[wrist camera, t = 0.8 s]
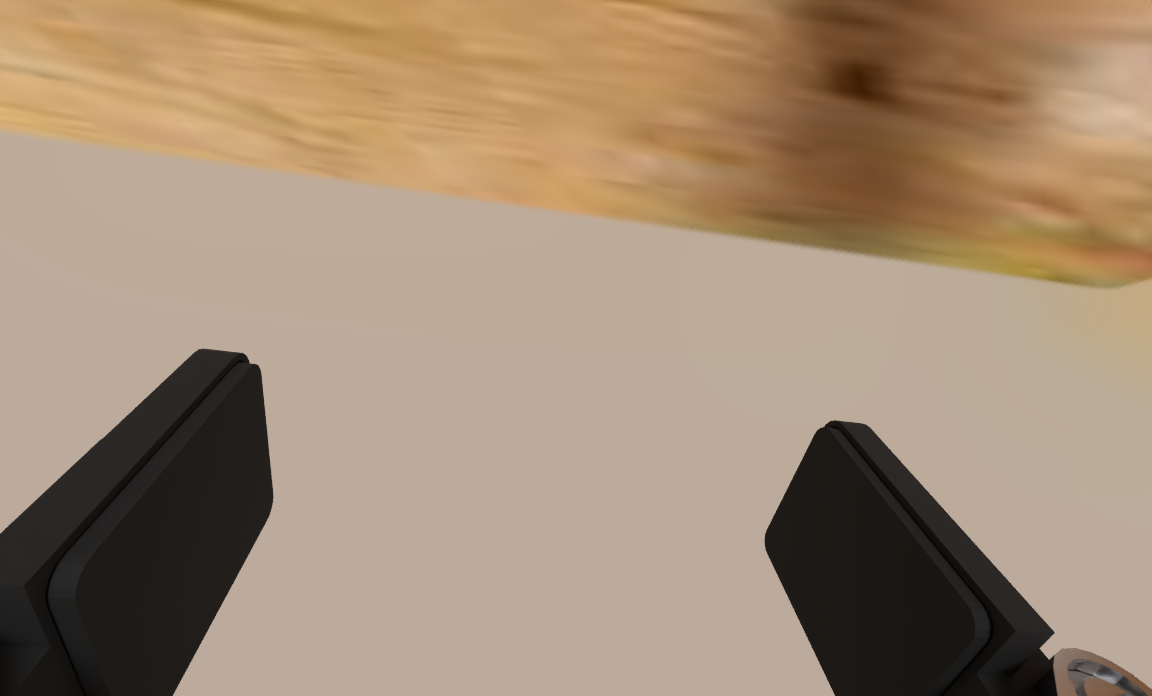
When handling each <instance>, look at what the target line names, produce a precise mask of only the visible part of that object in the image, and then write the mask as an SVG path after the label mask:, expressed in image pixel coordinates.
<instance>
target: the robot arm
mask: <svg viewBox="0 0 1152 696" xmlns="http://www.w3.org/2000/svg"><path fill="white" fill-rule="evenodd" d="M263 397H264V396H263V386H262V376H261V370H260V368H259V366H258V365H256V364H249V360H248V358H247V356H246V355H245V354H243V353H237V352H228V351H219V350H211V349H199V350H198V351H196V352H195V353H194V354H192V355H191V356H190V357H189V358H188V359H187V360H186V361H185V362H184V363H183V364H182V365H181V366H180V367H178V368H177V369H176V370H175V371H174V372H173V373H172V374H171V375H170V376H169V377H168V378H167V379H166V380H165V381H164V382H163V383H161V384H160V386H158V387H157V388H156V389H155V390H154V391H153V392H152V393H151V394H150V395H149V396H148V397H147V398H146V399H144V400H143V401H142V402H141V403H140V404H139V405H138V406H137V407H136V408H135V409H134V410H133V411H132V412H131V413H130V414H129V415H127V416H126V417H125V418H124V419H123V420H122V421H121V422H120V423H119V424H118V425H117V426H116V427H115V428H114V429H112V431H111V432H109V433H108V434H107V435H106V436H105V437H104V438H103V439H101V440H100V441H99V442H98V443H97V444H95V445H94V446H93V447H92V448H91V449H90V450H89V451H88V452H87V453H86V454H85V455H84V456H83V457H82V458H81V459H80V460H78V462H76V463H75V464H74V465H73V466H72V467H71V468H70V469H69V470H68V471H67V472H66V473H65V474H63V475H62V476H61V477H60V478H59V479H58V480H57V481H56V482H55V483H54V484H53V485H52V486H51V487H50V488H49V489H48V490H46V491H45V492H44V493H43V494H42V495H41V496H40V497H39V498H38V499H37V500H36V501H35V502H34V503H33V504H31V506H30V507H28V508H27V509H26V510H25V511H24V512H23V513H22V514H21V515H20V516H19V517H18V518H17V519H15V520H14V521H13V522H12V523H11V524H10V525H9V526H8V527H7V528H6V529H5V530H4V531H3V532H2V533H1V534H0V696H173V694H174V692H175V690H176V688H177V687H178V684H179V683H180V681H181V679H182V677H183V675H184V674H185V672H186V670H187V668H188V666H189V664H190V662H191V661H192V659H193V657H194V655H195V653H196V651H197V649H198V648H199V646H200V644H201V642H202V640H203V638H204V636H205V635H206V633H207V631H208V629H209V627H210V625H211V623H212V621H213V620H214V618H215V616H216V614H217V612H218V610H219V608H220V607H221V605H222V603H223V601H224V599H225V597H226V596H227V594H228V592H229V590H230V588H231V586H232V584H233V583H234V581H235V579H236V577H237V575H238V573H239V571H240V569H241V568H242V566H243V564H244V562H245V560H246V558H247V557H248V554H249V553H250V551H251V549H252V547H253V545H254V543H255V542H256V540H257V538H258V536H259V534H260V532H261V530H262V529H263V527H264V525H265V523H266V521H267V519H268V517H269V515H270V512H271V508H272V503H273V487H272V478H271V467H270V457H269V447H268V436H267V426H266V416H265V406H264V398H263ZM765 548H766V551H767V554H768V556H769V558H770V560H771V562H772V564H773V566H774V569H775V571H776V573H777V575H778V577H779V579H780V581H781V583H782V585H783V587H784V590H785V592H786V594H787V596H788V598H789V600H790V602H791V604H792V606H793V608H794V610H795V613H796V615H797V617H798V619H799V621H800V623H801V625H802V627H803V629H804V631H805V633H806V636H807V637H808V640H809V642H810V644H811V646H812V648H813V650H814V652H815V654H816V657H817V658H818V661H819V663H820V665H821V667H822V669H823V671H824V673H825V675H826V677H827V680H828V682H829V684H830V686H831V688H832V690H833V692H834V694H835V696H1152V689H1151V688H1149V687H1148V686H1147V685H1145V684H1144V683H1143V682H1142V681H1140V680H1139V679H1138V678H1136V677H1135V676H1134V675H1133V674H1131V673H1129V672H1128V671H1126V670H1125V669H1123V668H1121V667H1120V666H1118V665H1116V664H1115V663H1113V662H1112V661H1109V660H1107V659H1105V658H1103V657H1101V656H1098V655H1096V654H1094V653H1092V652H1088V651H1084V650H1080V649H1076V648H1068V649H1061V650H1060V651H1059V652H1057V653H1056V654H1055V655H1054V656H1053V657H1052V658H1051V659H1050V660H1049V659H1048V658H1047V657H1046V656H1045V655H1044V653H1043V652H1042V651H1041V650H1040V649H1039V648H1040V647H1041V646H1042V645H1043V644H1044V643H1045V642H1046V641H1047V640H1048V639H1049V638H1050V637H1051V636H1052V635H1053V634H1054V631H1053V630H1052V629H1051V628H1050V627H1049V626H1048V625H1047V623H1046V622H1045V621H1044V620H1043V619H1042V618H1041V617H1040V616H1039V615H1038V613H1037V612H1036V611H1035V610H1034V609H1033V608H1032V607H1031V606H1030V605H1029V604H1028V602H1027V601H1026V600H1025V599H1024V598H1023V597H1022V596H1021V595H1020V593H1018V591H1017V590H1016V589H1015V588H1014V587H1013V586H1012V585H1011V583H1010V582H1009V581H1008V580H1007V579H1006V578H1005V577H1004V576H1003V575H1002V574H1001V572H1000V571H998V569H997V568H996V567H995V566H994V565H993V564H992V562H991V561H990V560H989V559H988V558H987V557H986V556H985V555H984V554H983V552H982V551H981V550H980V549H979V548H978V547H977V546H976V545H975V544H974V543H973V541H971V539H970V538H969V537H968V536H967V535H966V534H965V532H964V531H963V530H962V529H961V528H960V527H959V526H958V525H957V524H956V522H955V521H954V520H953V519H952V518H951V517H950V516H949V515H948V514H947V512H946V511H945V510H944V509H943V508H942V507H941V506H940V505H939V504H938V503H937V501H936V500H935V499H934V498H933V497H932V496H931V495H930V494H929V492H928V491H927V490H926V489H925V488H924V487H923V486H922V485H921V484H920V483H919V481H918V480H917V479H916V478H915V477H914V476H913V475H912V474H911V473H910V472H909V470H908V469H907V468H906V467H905V466H904V465H903V464H902V463H901V461H900V460H899V459H898V458H897V457H896V456H895V455H894V454H893V453H892V452H891V450H890V449H889V448H888V447H887V446H886V445H885V444H884V443H883V442H882V440H881V439H880V438H879V437H878V436H877V435H876V434H875V433H874V431H872V429H871V428H870V427H868V426H867V425H865V424H861V423H853V422H844V421H835V420H834V421H830V422H829V423H827V424H826V425H825V427H823V428H820V429H819V430H817V432H816V433H815V435H814V437H813V439H812V441H811V443H810V445H809V447H808V449H807V451H806V453H805V455H804V457H803V459H802V461H801V463H800V465H799V467H798V469H797V471H796V473H795V475H794V477H793V479H792V481H791V483H790V485H789V487H788V489H787V491H786V493H785V495H784V497H783V499H782V501H781V503H780V505H779V507H778V509H777V511H776V513H775V515H774V517H773V519H772V521H771V523H770V525H769V527H768V529H767V531H766V534H765Z"/></svg>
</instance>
